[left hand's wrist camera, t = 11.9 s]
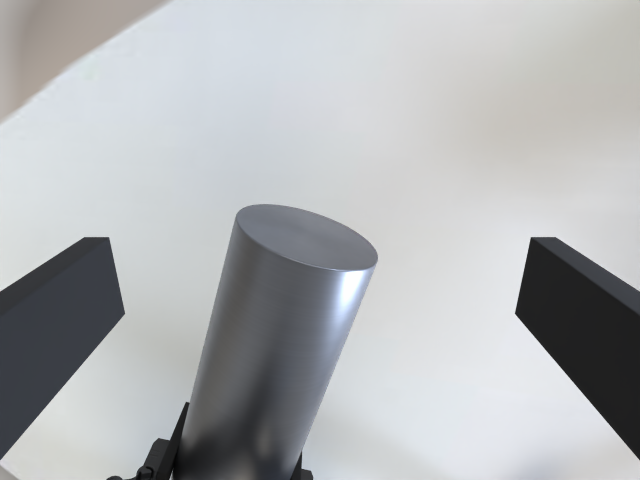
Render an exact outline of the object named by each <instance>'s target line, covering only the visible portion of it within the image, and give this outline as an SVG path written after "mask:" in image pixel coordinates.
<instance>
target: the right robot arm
mask: <svg viewBox="0 0 640 480" xmlns="http://www.w3.org/2000/svg"><path fill="white" fill-rule="evenodd" d="M189 404H190V403H189V402H186V403H185V405H184V408H183V410H182V413H181V415H180V418H179V420H178V422H177V425H176V427H175V430H174V432H173V434H172V437H171V439H170V441H169V440H165V439H160V438H158V439H157V440H156V441H155V442H154V443H153V445H152V447H151V450H150V452H149V454H148V456H147V458H146V460H145V463H144V465H143V466H142V467H140V468H139V469H138V471H137V475H136V477H134V478H132V479H126V480H169V479H170V476H171V474H172V471H173V468H174V465H175V461H176V456H177V452H178V448H179V444H180V440H181V436H182V432H183V428H184V424H185V420H186V416H187V412H188V408H189ZM301 465H302V451H301V453H300V456H299V458H298V461H297V463H296V466H295V468H294V471H293V473H292V476H291V478H290V480H313V475H312V473H311V471H309V470H304V469H301ZM107 480H122V478H121V477H119V476H111V477H109V478H108V479H107Z"/></svg>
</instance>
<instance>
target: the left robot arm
mask: <svg viewBox="0 0 640 480" xmlns="http://www.w3.org/2000/svg"><path fill="white" fill-rule="evenodd" d="M124 314H125V311H124V307H123V302H122V297H121V292H120V287H119V283H118V278H117V273H116V268H115V264H114V259H113V254H112V249H111V244H110V240H109V237H84V238H83V239H81V240H79V241H78V242H76V243H75V244H73V245H72V246H70V247H69V248H67V249H66V250H64V251H62V252H61V253H59V254H58V255H56V256H55V257H53V258H52V259H50V260H49V261H47V262H45V263H44V264H42V265H41V266H39V267H38V268H36V269H35V270H33V271H32V272H30V273H28V274H27V275H25V276H24V277H22V278H21V279H19V280H18V281H16V282H15V283H13V284H11V285H10V286H8V287H7V288H5V289H4V290H2V291H1V292H0V460H1V459H2V458H3V456H4V455H5V454H6V453H7V452H8V450H9V449H10V448H11V447H12V446H13V445H14V443H15V442H16V441H17V440H18V439H19V438H20V436H21V435H22V434H23V433H24V432H25V431H26V429H27V428H28V427H29V426H30V425H31V423H32V422H33V421H34V420H35V419H36V418H37V416H38V415H39V414H40V413H41V412H42V411H43V409H44V408H45V407H46V406H47V405H48V404H49V402H50V401H51V400H52V399H53V398H54V396H55V395H56V394H57V393H58V392H59V391H60V389H61V388H62V387H63V386H64V385H65V384H66V382H67V381H68V380H69V379H70V378H71V377H72V375H73V374H74V373H75V372H76V371H77V370H78V368H79V367H80V366H81V365H82V364H83V362H84V361H85V360H86V359H87V358H88V357H89V355H90V354H91V353H92V352H93V351H94V350H95V348H96V347H97V346H98V345H99V344H100V343H101V341H102V340H103V339H104V338H105V337H106V335H107V334H108V333H109V332H110V331H111V330H112V328H113V327H114V326H115V325H116V324H117V323H118V321H119V320H120V319H121V318H122V317H123V316H124ZM515 314H516V316H517V317H518V318H519V319H520V320H521V321H522V323H523V324H524V325H525V326H526V327H527V328H528V330H529V331H530V332H531V333H532V334H533V335H534V337H535V338H536V339H537V340H538V341H539V343H540V344H541V345H542V346H543V347H544V348H545V350H546V351H547V352H548V353H549V354H550V355H551V357H552V358H553V359H554V360H555V361H556V362H557V364H558V365H559V366H560V367H561V368H562V370H563V371H564V372H565V373H566V374H567V375H568V377H569V378H570V379H571V380H572V381H573V382H574V384H575V385H576V386H577V387H578V388H579V389H580V391H581V392H582V393H583V394H584V395H585V397H586V398H587V399H588V400H589V401H590V402H591V404H592V405H593V406H594V407H595V408H596V409H597V411H598V412H599V413H600V414H601V415H602V416H603V418H604V419H605V420H606V421H607V422H608V423H609V425H610V426H611V427H612V428H613V429H614V431H615V432H616V433H617V434H618V435H619V436H620V438H621V439H622V440H623V441H624V442H625V443H626V445H627V446H628V447H629V448H630V449H631V450H632V452H633V453H634V454H635V455H636V456H637V458H638V459H639V460H640V292H639V291H638V290H636V289H635V288H633V287H632V286H630V285H629V284H627V283H625V282H624V281H622V280H621V279H619V278H618V277H616V276H615V275H613V274H612V273H610V272H608V271H607V270H605V269H604V268H602V267H601V266H599V265H598V264H596V263H595V262H593V261H591V260H590V259H588V258H587V257H585V256H584V255H582V254H581V253H579V252H578V251H576V250H574V249H573V248H571V247H570V246H568V245H567V244H565V243H564V242H562V241H561V240H559V239H557V238H556V237H531V240H530V244H529V249H528V254H527V259H526V264H525V268H524V273H523V278H522V283H521V287H520V292H519V297H518V302H517V307H516V311H515Z"/></svg>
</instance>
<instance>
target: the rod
mask: <svg viewBox="0 0 640 480" xmlns="http://www.w3.org/2000/svg"><path fill="white" fill-rule="evenodd" d="M377 261H378V255H377V252H376V250H375V248H374V247H373V246H372V245H371V244H370V243H369V242H368V241H367V240H366V239H365V238H364V237H362V236H361V235H360V234H358V233H357V232H355V231H353V230H352V229H350V228H348V227H347V226H345V225H343V224H341V223H339V222H336V221H334V220H332V219H329V218H327V217H324V216H321V215H319V214H316V213H313V212H309V211H306V210H302V209H298V208H293V207H288V206H281V205H270V204H260V205H252V206H247V207H245V208H243V209H241V210H240V211H239V212H238V213H237V215H236V218H235V222H234V226H233V230H232V234H231V238H230V242H229V246H228V250H227V254H226V258H225V262H224V266H223V270H222V274H221V278H220V283H219V287H218V291H217V295H216V299H215V303H214V307H213V311H212V315H211V319H210V323H209V327H208V331H207V335H206V339H205V343H204V347H203V351H202V355H201V359H200V363H199V367H198V372H197V376H196V380H195V384H194V388H193V392H192V396H191V400H190V404H189V408H188V412H187V416H186V420H185V424H184V428H183V432H182V436H181V440H180V444H179V448H178V452H177V456H176V461H175V465H174V469H173V473H172V477H171V480H290V478H291V476H292V473H293V471H294V468H295V466H296V463H297V461H298V458H299V456H300V453H301V451H302V448H303V446H304V443H305V441H306V438H307V436H308V433H309V431H310V428H311V426H312V423H313V421H314V418H315V416H316V413H317V411H318V409H319V406H320V404H321V401H322V399H323V396H324V394H325V391H326V389H327V386H328V384H329V381H330V379H331V376H332V374H333V371H334V369H335V366H336V364H337V361H338V359H339V356H340V354H341V351H342V349H343V346H344V344H345V341H346V339H347V336H348V334H349V331H350V329H351V326H352V324H353V321H354V319H355V316H356V314H357V311H358V309H359V306H360V304H361V301H362V299H363V296H364V294H365V291H366V289H367V286H368V284H369V281H370V279H371V276H372V274H373V271H374V269H375V266H376V264H377Z"/></svg>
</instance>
